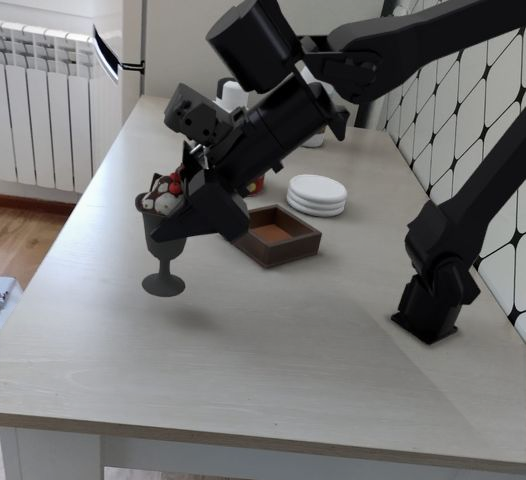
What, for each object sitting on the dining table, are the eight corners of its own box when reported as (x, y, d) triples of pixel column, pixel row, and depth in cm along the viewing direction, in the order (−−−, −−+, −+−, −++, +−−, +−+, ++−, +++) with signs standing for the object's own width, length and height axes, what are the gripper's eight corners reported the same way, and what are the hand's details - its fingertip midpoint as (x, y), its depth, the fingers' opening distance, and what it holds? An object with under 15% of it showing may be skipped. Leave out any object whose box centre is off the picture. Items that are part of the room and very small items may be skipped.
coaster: (296, 217, 95) (300, 197, 93) (278, 191, 102) (282, 172, 100) (352, 218, 98) (357, 198, 96) (330, 193, 106) (335, 174, 103)
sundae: (183, 307, 64) (193, 175, 55) (125, 293, 65) (125, 160, 55) (200, 278, 69) (212, 153, 60) (146, 265, 70) (149, 139, 61)
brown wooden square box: (317, 254, 86) (322, 232, 84) (265, 269, 80) (269, 246, 78) (273, 224, 92) (277, 203, 90) (221, 236, 86) (224, 214, 84)
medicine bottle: (203, 136, 118) (209, 73, 111) (236, 137, 121) (243, 75, 114) (216, 150, 113) (223, 85, 106) (249, 150, 116) (259, 86, 109)
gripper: (214, 37, 60) (105, 134, 65) (227, 88, 46) (85, 208, 50) (277, 123, 66) (173, 206, 71) (306, 192, 52) (173, 290, 57)
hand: (153, 223), depth 62 cm, fingers closed on sundae, 6 cm apart
